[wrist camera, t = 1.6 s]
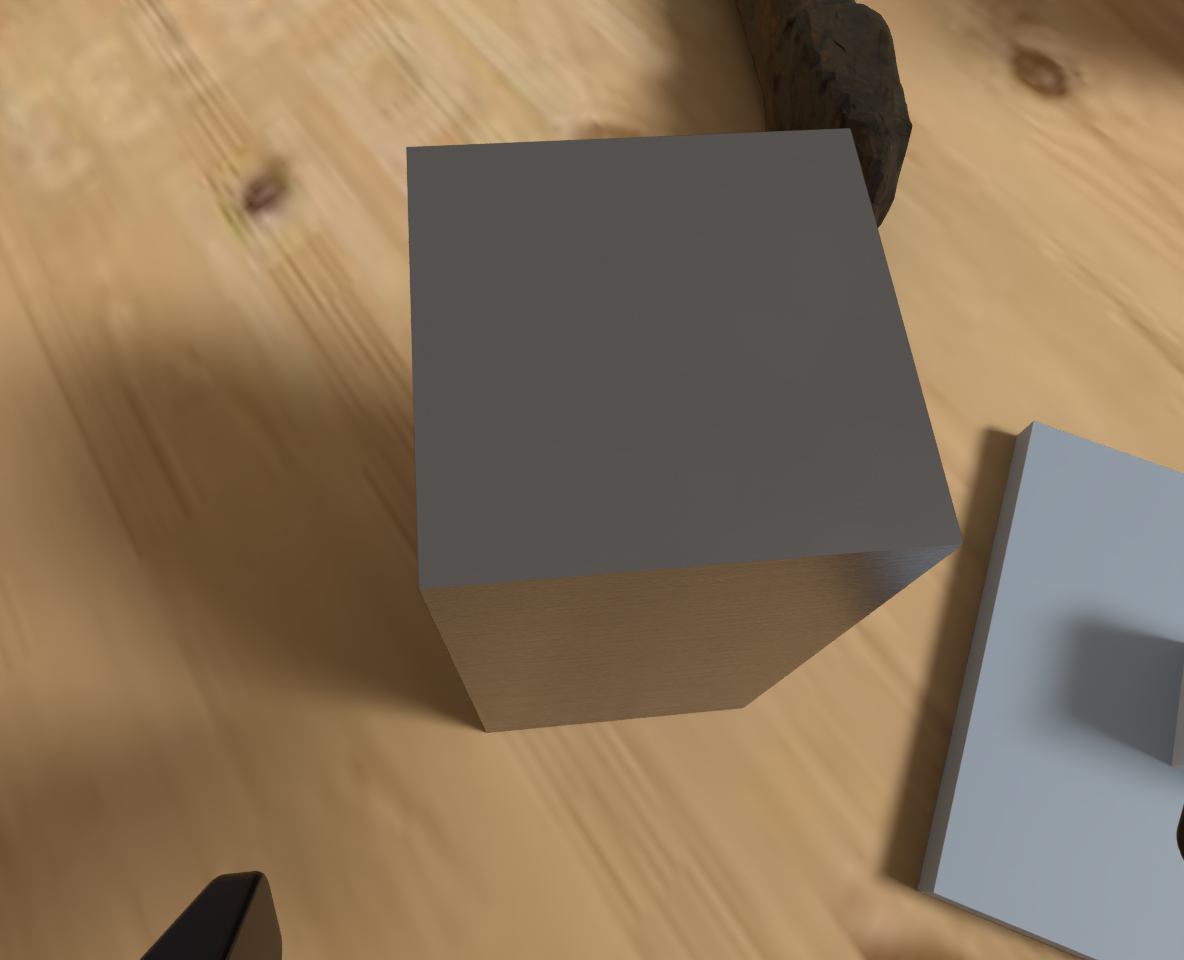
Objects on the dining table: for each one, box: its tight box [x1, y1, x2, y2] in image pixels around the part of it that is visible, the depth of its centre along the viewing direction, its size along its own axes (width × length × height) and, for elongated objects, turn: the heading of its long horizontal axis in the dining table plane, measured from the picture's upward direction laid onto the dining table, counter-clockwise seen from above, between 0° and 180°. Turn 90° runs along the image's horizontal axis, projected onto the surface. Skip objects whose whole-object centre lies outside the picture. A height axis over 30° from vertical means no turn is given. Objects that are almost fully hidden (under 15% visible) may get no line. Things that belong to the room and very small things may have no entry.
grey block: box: [406, 128, 964, 733], centre depth 16 cm, size 6×6×12 cm
